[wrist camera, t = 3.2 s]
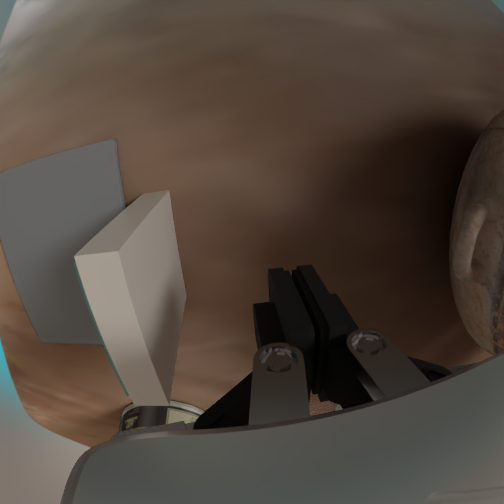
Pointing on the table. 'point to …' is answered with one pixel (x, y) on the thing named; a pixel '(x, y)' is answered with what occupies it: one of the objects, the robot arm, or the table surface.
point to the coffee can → (157, 415)
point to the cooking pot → (481, 240)
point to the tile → (137, 296)
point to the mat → (58, 233)
